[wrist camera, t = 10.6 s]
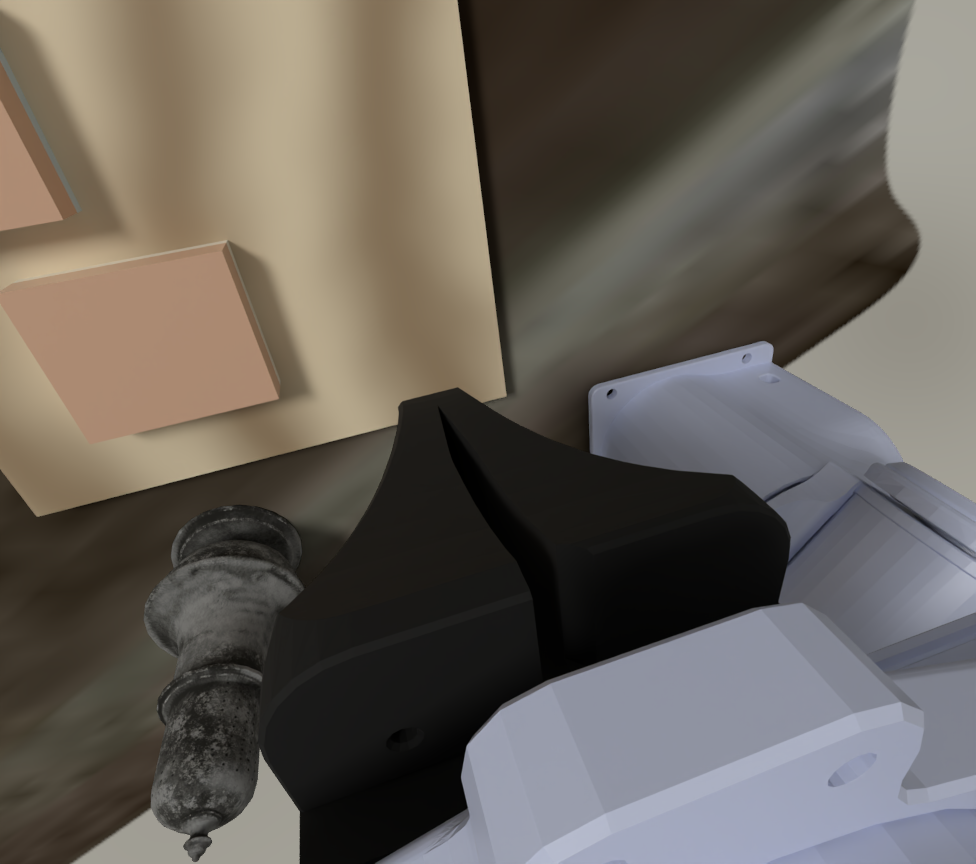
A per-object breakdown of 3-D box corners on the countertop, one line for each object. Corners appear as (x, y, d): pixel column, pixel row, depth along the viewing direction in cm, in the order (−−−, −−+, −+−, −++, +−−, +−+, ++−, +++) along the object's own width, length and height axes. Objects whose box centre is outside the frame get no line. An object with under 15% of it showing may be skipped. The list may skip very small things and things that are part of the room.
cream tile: (221, 250, 16) (-6, 294, 15) (279, 399, 19) (89, 444, 18) (227, 239, 17) (18, 279, 16) (280, 380, 20) (103, 422, 19)
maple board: (432, -125, 15) (440, -138, 14) (499, 386, 24) (506, 396, 23) (-363, -55, 12) (-411, -67, 11) (47, 500, 21) (36, 516, 20)
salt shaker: (312, 499, 24) (319, 777, 14) (305, 597, 27) (306, 889, 17) (159, 499, 22) (42, 822, 12) (167, 605, 25) (77, 940, 15)
